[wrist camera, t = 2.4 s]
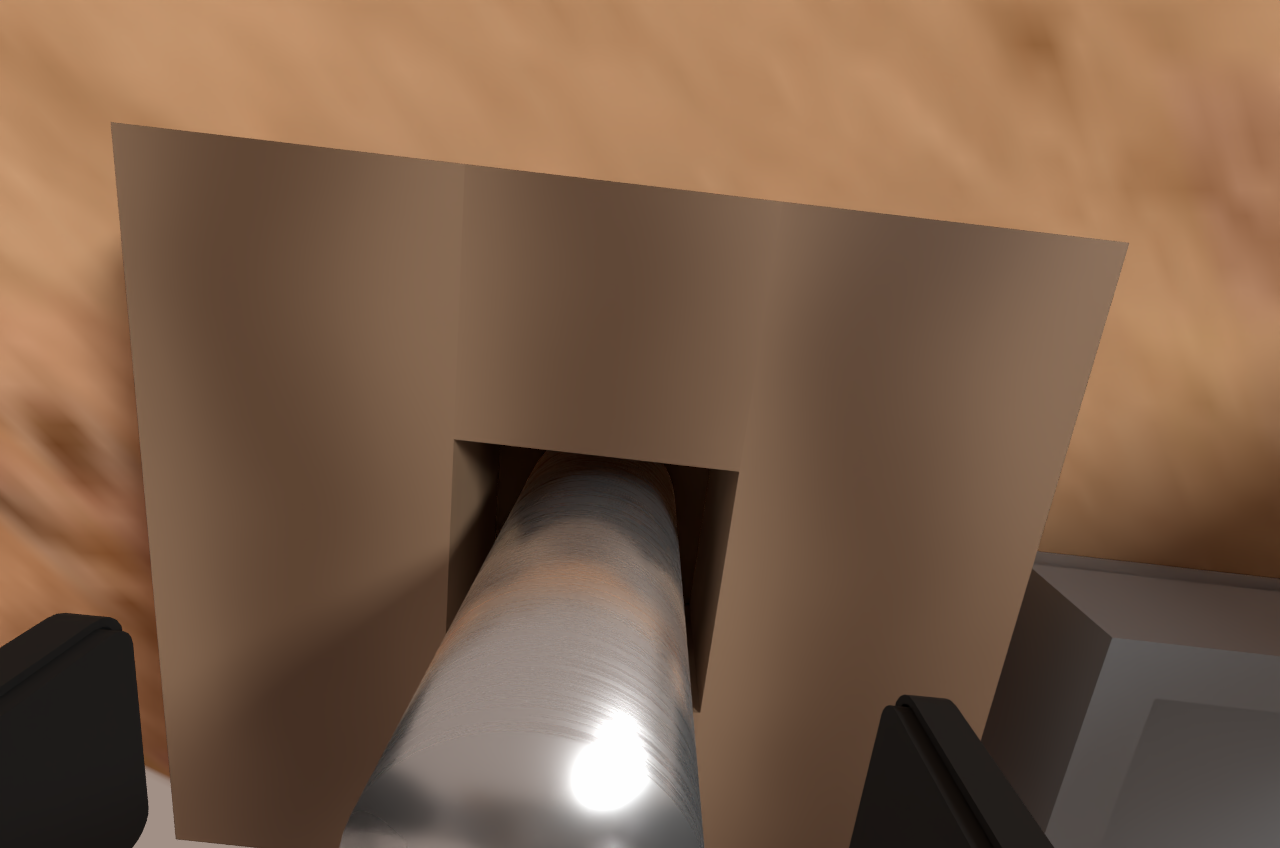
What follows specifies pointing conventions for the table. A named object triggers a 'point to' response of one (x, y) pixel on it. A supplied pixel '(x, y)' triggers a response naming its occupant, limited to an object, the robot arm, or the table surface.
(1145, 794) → the tray
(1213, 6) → the table surface
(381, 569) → the wooden block with hole
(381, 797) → the steel pin
